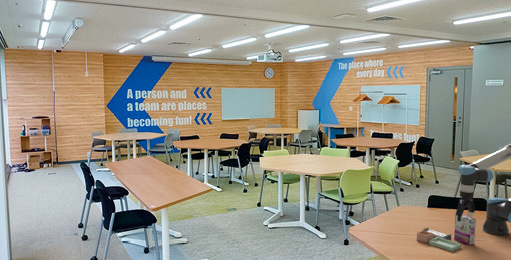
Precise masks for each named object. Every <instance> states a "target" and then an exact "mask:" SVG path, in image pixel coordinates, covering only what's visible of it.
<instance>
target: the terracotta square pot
mask: <svg viewBox="0 0 511 260" xmlns="http://www.w3.org/2000/svg"><path fill="white" fill-rule="evenodd" d="M431 239H433V233H430V232H427V231H424V230H423V229H422V230H420V231H418V232H417V233H416V241H417V242H421V243H424V244H429V240H431Z"/></svg>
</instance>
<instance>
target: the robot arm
mask: <svg viewBox="0 0 511 260" xmlns="http://www.w3.org/2000/svg"><path fill="white" fill-rule="evenodd" d="M507 160H511V143H508V144H506V145H503V147H502V148H501V149H499V150H497V151H495V152H493V153H491V154H488V155H486V156H485V157H483V158H480V159H478V160H476V161H474V162H471V163H469V164H461V165H460V166H459V167H458V173H459V175H460V184H459V186H460V187H459V190H460V191H459V197H460V198H461V199H459V200H458V204H457V205H458V206H457V208H456V212H455V215H457V226H459V227H462V217H463V216H462V215H464V212H465V210H466V208H467V216H468V217H472V218H474V216H473V215H474V213H475V212H476V210H475V204H474V203H475V202H474V191H475V183H477V182H478V183H479V182H480V183H481V182H483V183H484V182H485V183H487V182H491V181H493V179H494V172H493V171H492V170H491V168H493V167H495V166H497V165H499V164H501V163H504V162H505V161H507ZM485 216H486V217H485V218H486V219H485V220H484V223H483V226H482V230H483V232H486V233H488V234H490V235H497V236H507V235H509V234H510V229H509V226H508V223H510V224H511V197H510V198H504V197H488V198H487V203H486V215H485ZM507 222H508V223H507Z"/></svg>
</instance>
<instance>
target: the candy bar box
mask: <svg viewBox="0 0 511 260" xmlns="http://www.w3.org/2000/svg"><path fill="white" fill-rule="evenodd" d="M462 216H463V217H462V227H459V226H457V215H456V214H455V217H454V236H453V238H454V239H453V240H455V241H457V242H460V243H461V244H465V245H467V246H472V245H475V241H476V240H475V238H476V225H477V224H476V221H477V219H476V218H475V217H468V215H466V214H462Z"/></svg>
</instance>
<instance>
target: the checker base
mask: <svg viewBox="0 0 511 260" xmlns="http://www.w3.org/2000/svg"><path fill="white" fill-rule="evenodd" d="M422 230H424V231H429V230H430V227H424V228H423V229H422ZM446 234H447V236H445V238H443V239H447V240H450V241H452V234H451V233H446ZM436 237H437V236H433V239H434V238H436Z"/></svg>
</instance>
